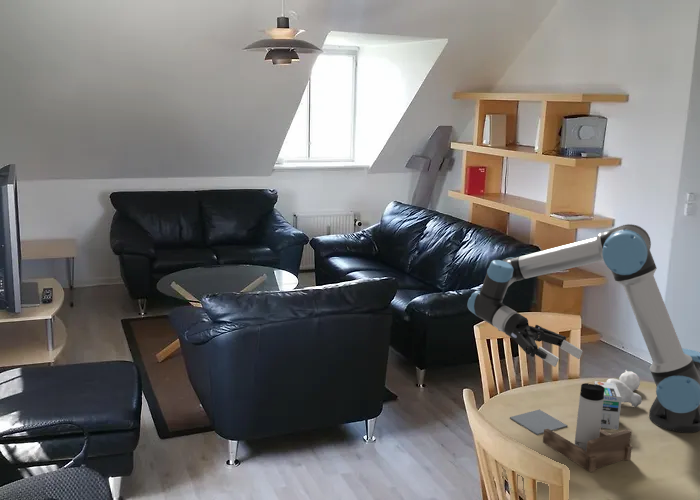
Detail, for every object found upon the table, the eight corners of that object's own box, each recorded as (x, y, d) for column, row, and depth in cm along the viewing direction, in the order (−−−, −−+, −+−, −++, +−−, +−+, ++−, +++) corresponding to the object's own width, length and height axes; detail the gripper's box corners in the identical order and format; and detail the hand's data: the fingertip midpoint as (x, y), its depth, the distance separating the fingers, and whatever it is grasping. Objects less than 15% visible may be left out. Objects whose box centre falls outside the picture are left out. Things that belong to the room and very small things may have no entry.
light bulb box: (618, 430, 209) (622, 397, 206) (595, 428, 210) (598, 394, 207) (613, 414, 219) (616, 382, 216) (590, 412, 220) (594, 380, 218)
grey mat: (539, 410, 220) (539, 409, 220) (567, 426, 210) (567, 425, 210) (509, 418, 215) (509, 417, 215) (537, 435, 205) (537, 434, 205)
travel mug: (574, 454, 194) (582, 388, 189) (573, 443, 200) (580, 378, 195) (598, 458, 193) (606, 391, 188) (596, 446, 199) (603, 381, 194)
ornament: (619, 393, 234) (613, 371, 237) (626, 394, 239) (620, 373, 242) (638, 388, 231) (631, 366, 234) (645, 389, 236) (638, 368, 238)
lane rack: (542, 442, 201) (545, 416, 199) (580, 431, 208) (583, 406, 206) (591, 472, 185) (594, 444, 183) (630, 459, 192) (633, 432, 190)
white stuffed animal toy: (606, 374, 228) (644, 382, 225) (601, 397, 230) (638, 406, 227) (606, 381, 223) (645, 390, 219) (601, 404, 225) (640, 414, 221)
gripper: (529, 328, 226) (585, 362, 212) (483, 339, 208) (541, 377, 195) (537, 307, 223) (594, 341, 209) (491, 317, 206) (550, 354, 192)
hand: (569, 358), depth 202 cm, fingers open, 13 cm apart
